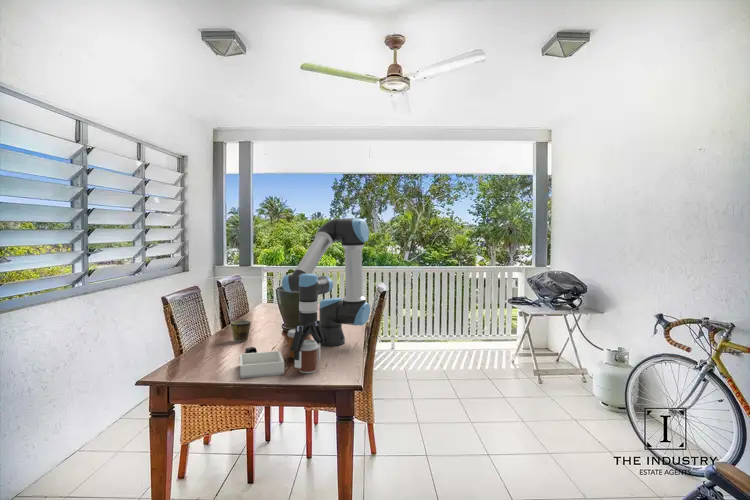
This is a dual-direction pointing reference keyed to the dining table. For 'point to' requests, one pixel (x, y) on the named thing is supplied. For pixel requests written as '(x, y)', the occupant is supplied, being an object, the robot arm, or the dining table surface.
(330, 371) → the dining table surface
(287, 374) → the dining table surface
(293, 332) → the disposable coffee cup
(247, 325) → the ceramic cup
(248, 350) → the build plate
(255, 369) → the box
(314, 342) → the coffee cup
